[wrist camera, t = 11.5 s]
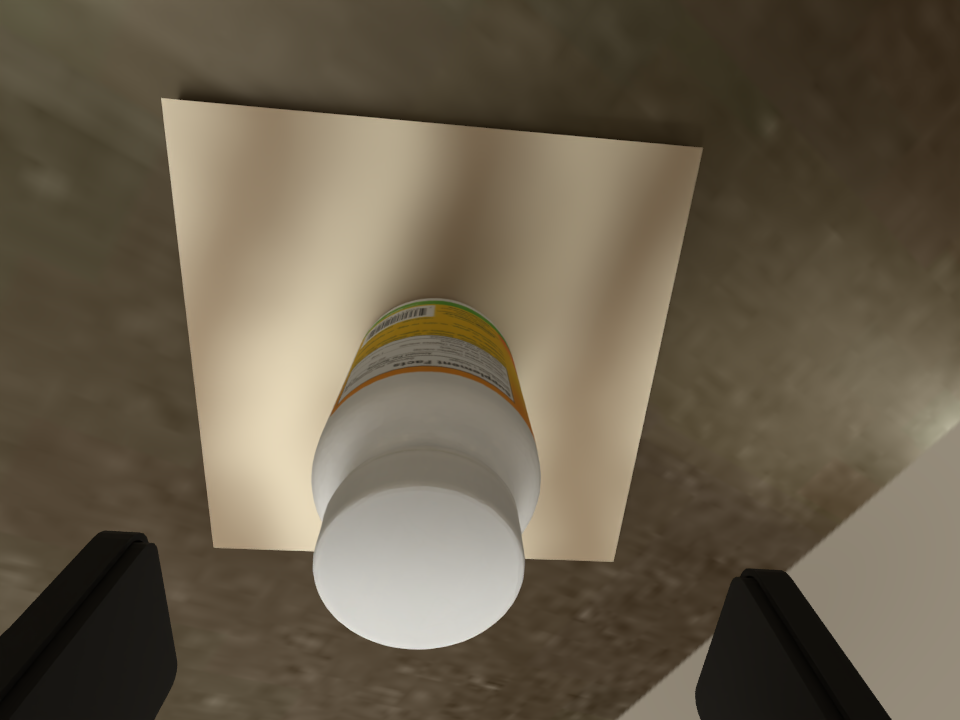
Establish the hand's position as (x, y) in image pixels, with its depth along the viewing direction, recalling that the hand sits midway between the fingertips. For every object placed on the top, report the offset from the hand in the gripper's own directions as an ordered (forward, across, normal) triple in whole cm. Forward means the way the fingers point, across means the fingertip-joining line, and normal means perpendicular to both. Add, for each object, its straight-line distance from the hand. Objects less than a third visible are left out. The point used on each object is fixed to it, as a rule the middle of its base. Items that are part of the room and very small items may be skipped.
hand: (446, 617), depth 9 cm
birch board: (+12, +1, 0) cm, 12 cm away
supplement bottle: (+11, +1, 0) cm, 11 cm away
